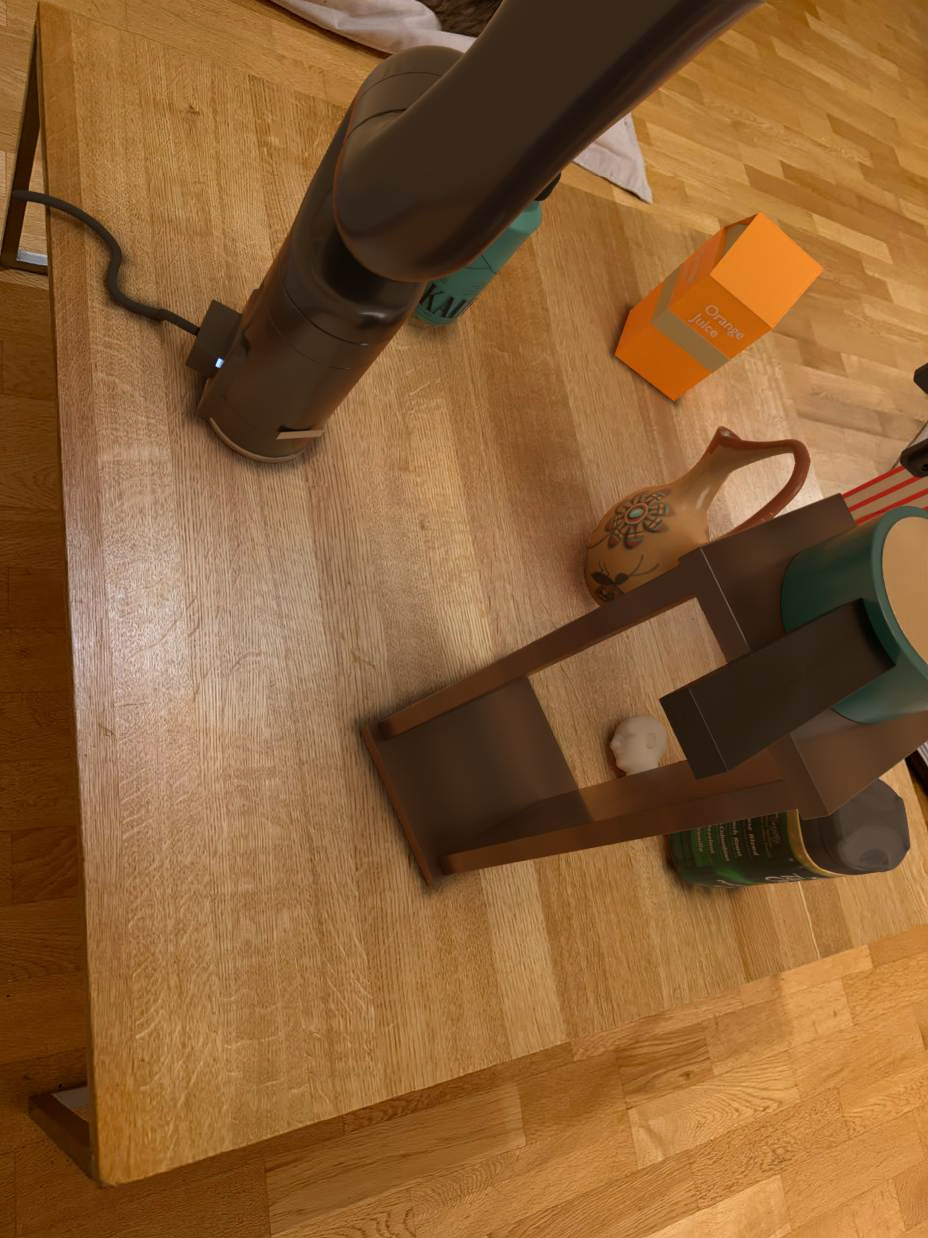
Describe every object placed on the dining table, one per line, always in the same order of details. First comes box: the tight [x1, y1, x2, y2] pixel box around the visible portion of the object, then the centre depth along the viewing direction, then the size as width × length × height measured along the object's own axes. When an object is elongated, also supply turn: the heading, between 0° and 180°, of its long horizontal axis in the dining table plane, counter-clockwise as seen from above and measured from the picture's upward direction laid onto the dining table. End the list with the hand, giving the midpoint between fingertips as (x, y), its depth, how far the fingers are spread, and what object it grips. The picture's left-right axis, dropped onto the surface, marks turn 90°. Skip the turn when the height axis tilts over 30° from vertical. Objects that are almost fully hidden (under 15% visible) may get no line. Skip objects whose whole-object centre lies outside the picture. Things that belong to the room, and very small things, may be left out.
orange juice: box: [614, 211, 825, 402], centre depth 96 cm, size 8×9×20 cm
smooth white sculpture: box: [609, 714, 669, 776], centre depth 83 cm, size 4×8×5 cm
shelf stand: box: [359, 492, 928, 887], centre depth 61 cm, size 16×13×37 cm
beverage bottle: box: [412, 172, 562, 327], centre depth 81 cm, size 6×7×20 cm
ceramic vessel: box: [583, 425, 812, 607], centre depth 80 cm, size 16×9×25 cm, turn 167°
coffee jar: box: [668, 777, 911, 889], centre depth 78 cm, size 10×8×19 cm
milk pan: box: [658, 506, 928, 780], centre depth 40 cm, size 20×9×5 cm, turn 118°
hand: (914, 424), depth 65 cm, fingers open, 8 cm apart
